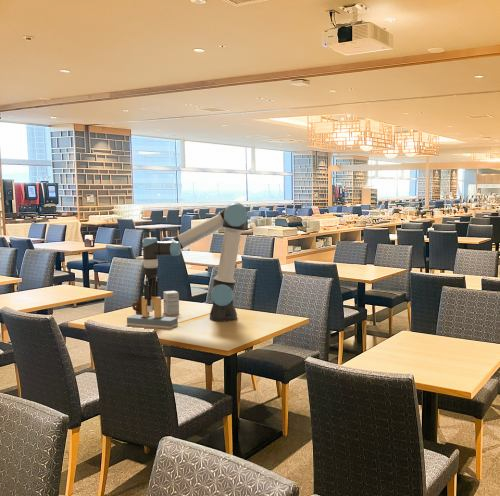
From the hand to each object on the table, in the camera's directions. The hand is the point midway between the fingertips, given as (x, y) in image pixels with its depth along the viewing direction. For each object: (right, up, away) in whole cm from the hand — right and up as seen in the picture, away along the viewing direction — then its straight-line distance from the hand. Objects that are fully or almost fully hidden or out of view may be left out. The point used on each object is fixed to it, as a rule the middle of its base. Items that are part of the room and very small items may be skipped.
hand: (151, 310), depth 301 cm
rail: (0, -8, +1) cm, 8 cm away
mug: (-10, -6, +22) cm, 25 cm away
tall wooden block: (0, -3, 0) cm, 3 cm away
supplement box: (+6, -5, +29) cm, 30 cm away
